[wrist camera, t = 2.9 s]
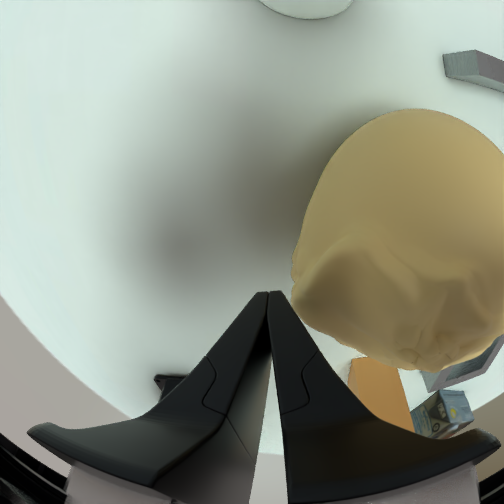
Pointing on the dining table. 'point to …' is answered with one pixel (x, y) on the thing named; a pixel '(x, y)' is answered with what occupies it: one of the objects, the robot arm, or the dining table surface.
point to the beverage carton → (442, 415)
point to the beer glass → (308, 7)
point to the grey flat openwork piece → (500, 78)
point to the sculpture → (406, 243)
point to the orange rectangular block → (380, 391)
